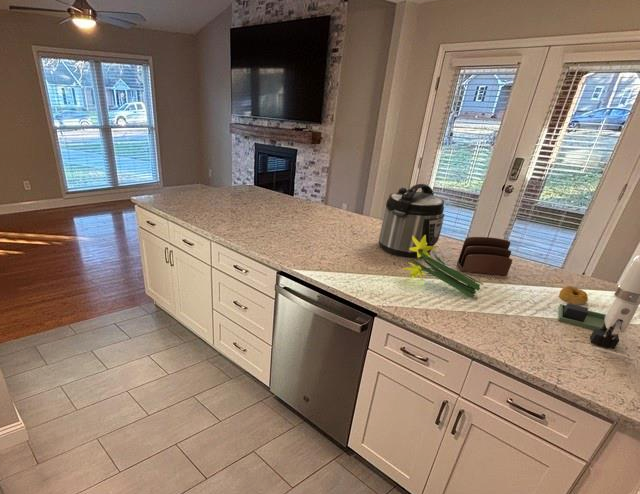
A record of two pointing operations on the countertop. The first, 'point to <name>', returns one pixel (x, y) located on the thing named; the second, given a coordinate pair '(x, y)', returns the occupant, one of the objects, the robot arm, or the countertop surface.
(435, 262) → the daffodil flowers
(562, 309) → the tray
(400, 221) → the pressure cooker
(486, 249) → the letter holder
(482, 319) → the countertop surface
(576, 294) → the bagel
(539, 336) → the countertop surface
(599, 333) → the loose pad
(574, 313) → the seated pad
